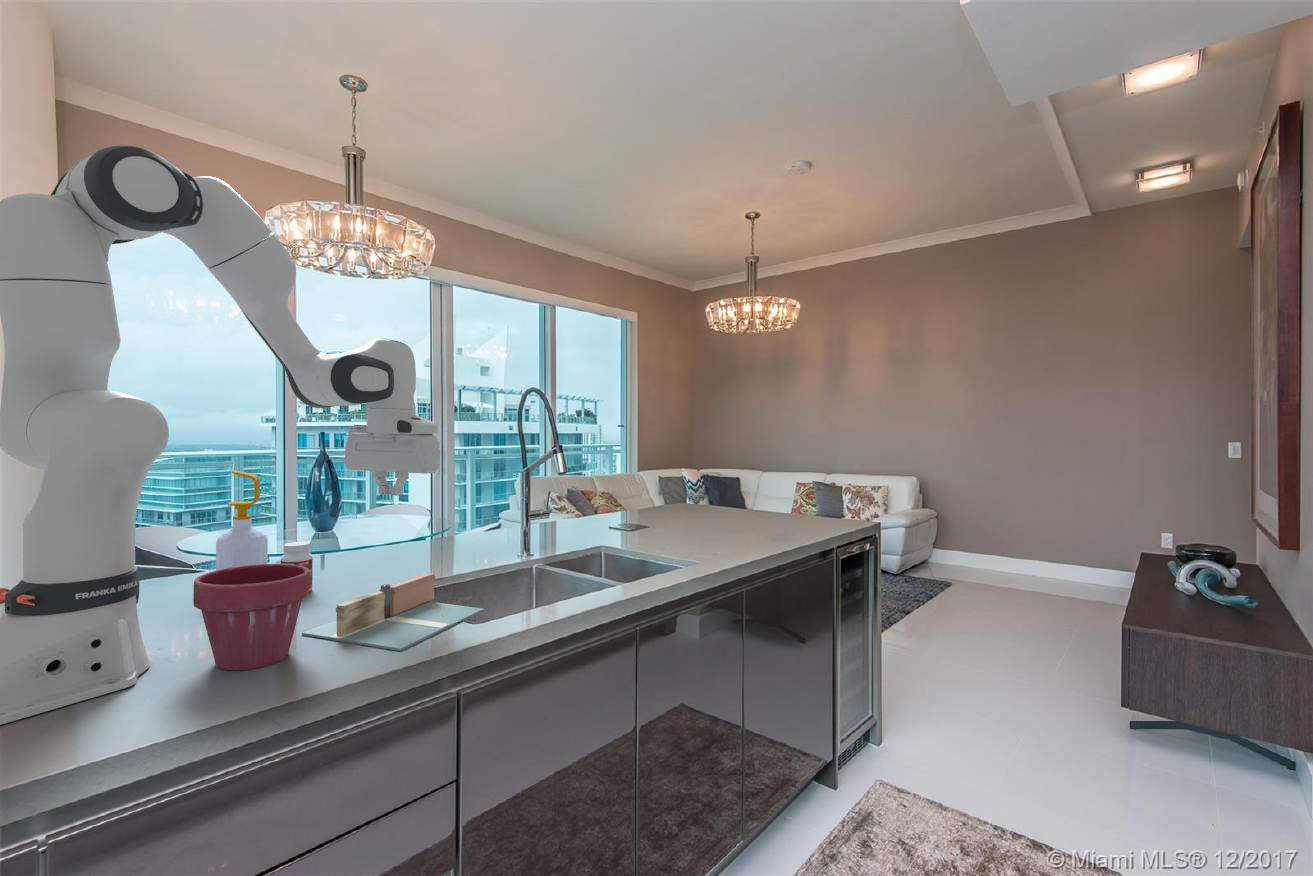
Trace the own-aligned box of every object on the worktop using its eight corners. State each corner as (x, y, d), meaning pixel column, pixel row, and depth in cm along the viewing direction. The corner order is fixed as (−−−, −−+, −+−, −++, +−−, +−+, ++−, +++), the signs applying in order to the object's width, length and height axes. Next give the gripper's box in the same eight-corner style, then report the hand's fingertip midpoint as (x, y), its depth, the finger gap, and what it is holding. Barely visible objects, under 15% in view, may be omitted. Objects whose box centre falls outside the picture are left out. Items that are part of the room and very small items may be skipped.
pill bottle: (301, 595, 123) (301, 546, 123) (274, 595, 123) (274, 546, 123) (318, 588, 129) (318, 541, 129) (291, 587, 129) (291, 540, 129)
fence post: (385, 619, 108) (385, 587, 108) (378, 618, 108) (378, 586, 108) (392, 617, 109) (392, 585, 109) (384, 616, 110) (385, 584, 110)
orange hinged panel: (394, 615, 110) (394, 587, 110) (386, 614, 110) (386, 586, 110) (434, 598, 120) (435, 573, 120) (427, 598, 121) (427, 572, 121)
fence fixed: (344, 636, 99) (344, 606, 99) (335, 635, 100) (335, 605, 100) (385, 620, 108) (385, 592, 108) (376, 619, 108) (377, 591, 108)
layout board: (400, 651, 94) (400, 648, 94) (301, 635, 101) (301, 632, 101) (483, 610, 115) (483, 608, 115) (397, 599, 122) (397, 597, 122)
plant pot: (312, 637, 100) (313, 559, 100) (304, 668, 87) (304, 579, 87) (206, 649, 94) (206, 566, 94) (180, 685, 81) (180, 589, 81)
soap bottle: (221, 582, 132) (221, 469, 131) (270, 578, 135) (270, 468, 135) (211, 593, 123) (210, 472, 123) (264, 589, 127) (264, 471, 127)
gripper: (336, 423, 119) (336, 493, 119) (423, 424, 113) (422, 499, 113) (361, 423, 125) (361, 490, 125) (445, 425, 119) (444, 496, 119)
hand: (390, 495), depth 119 cm, fingers closed
